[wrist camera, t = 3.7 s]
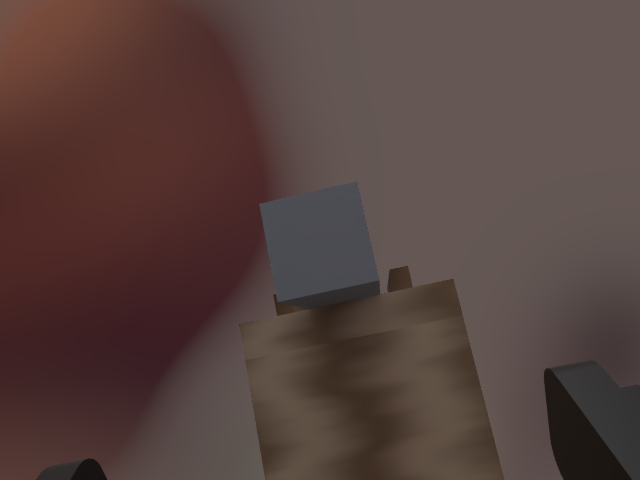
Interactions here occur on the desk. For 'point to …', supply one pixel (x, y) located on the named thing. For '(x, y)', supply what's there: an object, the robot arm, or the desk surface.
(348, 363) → the zigzag patterned block
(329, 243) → the bar
